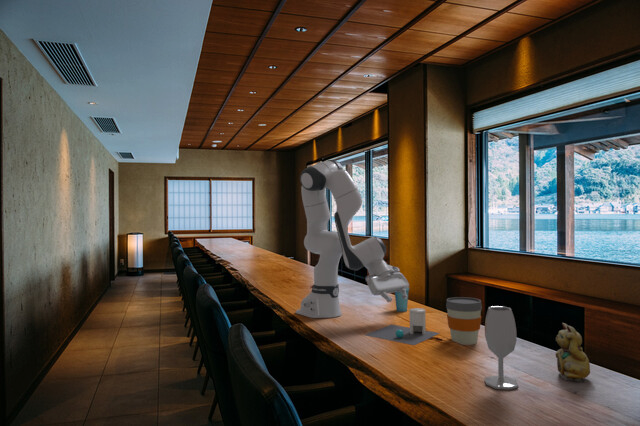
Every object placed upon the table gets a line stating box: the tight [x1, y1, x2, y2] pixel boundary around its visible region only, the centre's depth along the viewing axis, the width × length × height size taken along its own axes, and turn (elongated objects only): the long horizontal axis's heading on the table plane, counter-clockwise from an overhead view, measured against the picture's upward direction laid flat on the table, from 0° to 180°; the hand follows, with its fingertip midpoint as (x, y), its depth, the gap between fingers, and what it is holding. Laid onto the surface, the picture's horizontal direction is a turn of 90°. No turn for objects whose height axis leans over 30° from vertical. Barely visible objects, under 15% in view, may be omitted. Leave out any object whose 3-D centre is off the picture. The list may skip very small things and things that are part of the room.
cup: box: [394, 287, 410, 313], centre depth 218 cm, size 14×8×15 cm, turn 12°
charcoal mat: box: [364, 324, 441, 346], centre depth 176 cm, size 22×20×1 cm
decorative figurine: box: [555, 322, 591, 382], centre depth 129 cm, size 10×8×15 cm
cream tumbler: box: [409, 307, 427, 335], centre depth 177 cm, size 6×6×9 cm
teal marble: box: [396, 330, 404, 338], centre depth 171 cm, size 3×3×3 cm
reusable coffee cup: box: [445, 296, 483, 346], centre depth 166 cm, size 13×13×15 cm
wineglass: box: [484, 305, 519, 391], centre depth 125 cm, size 9×9×21 cm
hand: (398, 299), depth 190 cm, fingers open, 8 cm apart
